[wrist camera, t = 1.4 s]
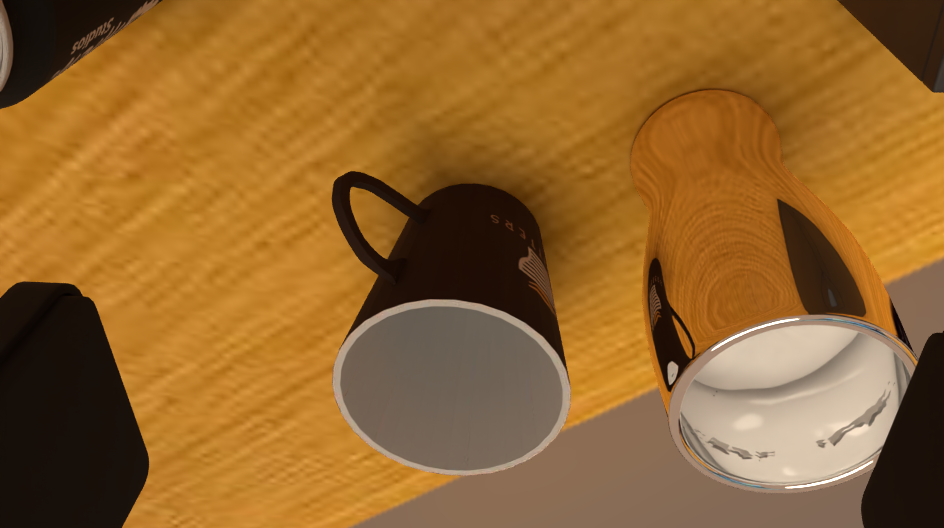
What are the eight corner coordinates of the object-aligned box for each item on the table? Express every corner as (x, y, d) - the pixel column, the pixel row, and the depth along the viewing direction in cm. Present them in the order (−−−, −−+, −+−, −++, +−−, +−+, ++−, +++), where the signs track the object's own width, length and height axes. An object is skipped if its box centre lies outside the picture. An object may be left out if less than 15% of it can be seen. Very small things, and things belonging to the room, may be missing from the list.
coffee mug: (568, 314, 38) (573, 475, 30) (395, 319, 40) (355, 475, 31) (561, 89, 32) (565, 215, 24) (354, 101, 33) (290, 226, 25)
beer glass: (586, 144, 33) (609, 392, 21) (734, 42, 30) (861, 260, 18) (676, 253, 36) (743, 529, 24) (820, 169, 33) (982, 434, 21)
